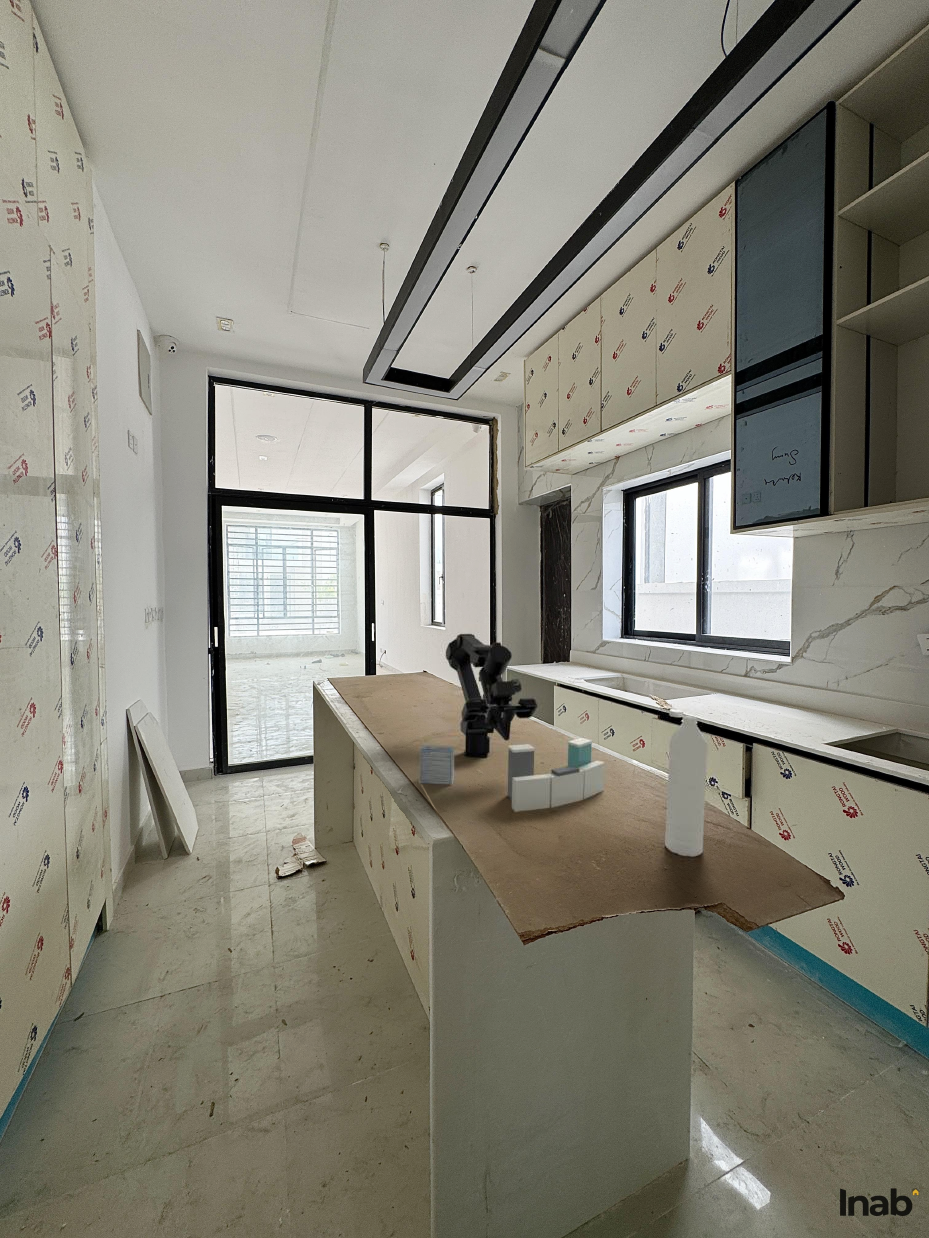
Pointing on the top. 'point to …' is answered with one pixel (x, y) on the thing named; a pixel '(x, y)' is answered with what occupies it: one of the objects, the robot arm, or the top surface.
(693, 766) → the water bottle
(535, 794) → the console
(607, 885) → the top surface
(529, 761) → the grey and white block
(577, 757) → the teal and white block
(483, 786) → the top surface
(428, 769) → the medicine box
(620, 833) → the top surface
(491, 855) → the top surface
